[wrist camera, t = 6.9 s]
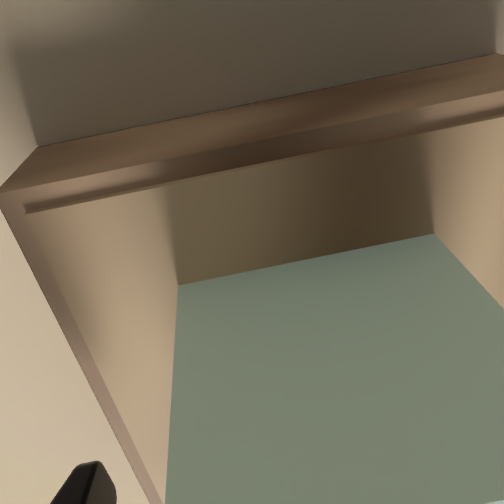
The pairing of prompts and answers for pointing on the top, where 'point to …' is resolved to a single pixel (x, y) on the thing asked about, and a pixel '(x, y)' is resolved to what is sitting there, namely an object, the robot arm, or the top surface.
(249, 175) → the square wooden tray
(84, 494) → the robot arm
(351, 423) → the sage cube
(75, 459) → the top surface
